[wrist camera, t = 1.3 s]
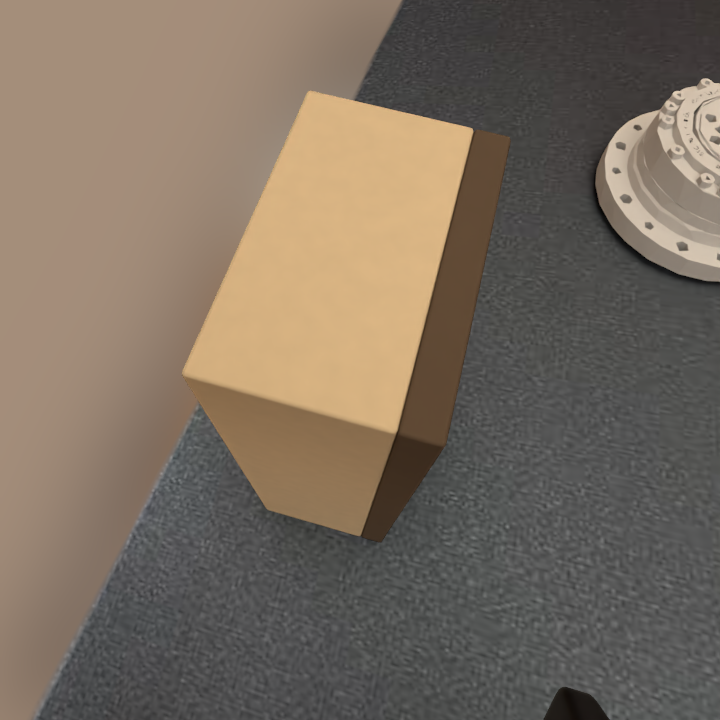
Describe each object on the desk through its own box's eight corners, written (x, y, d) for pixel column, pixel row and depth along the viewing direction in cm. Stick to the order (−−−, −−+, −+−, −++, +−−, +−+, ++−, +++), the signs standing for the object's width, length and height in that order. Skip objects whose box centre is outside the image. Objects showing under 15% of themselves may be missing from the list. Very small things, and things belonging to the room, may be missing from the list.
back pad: (422, 376, 23) (512, 135, 12) (381, 542, 21) (446, 447, 9) (320, 349, 24) (307, 88, 12) (265, 509, 21) (178, 374, 9)
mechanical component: (807, 178, 29) (627, 104, 31) (883, 108, 25) (671, 28, 27) (766, 320, 25) (564, 227, 27) (848, 265, 21) (604, 160, 23)
